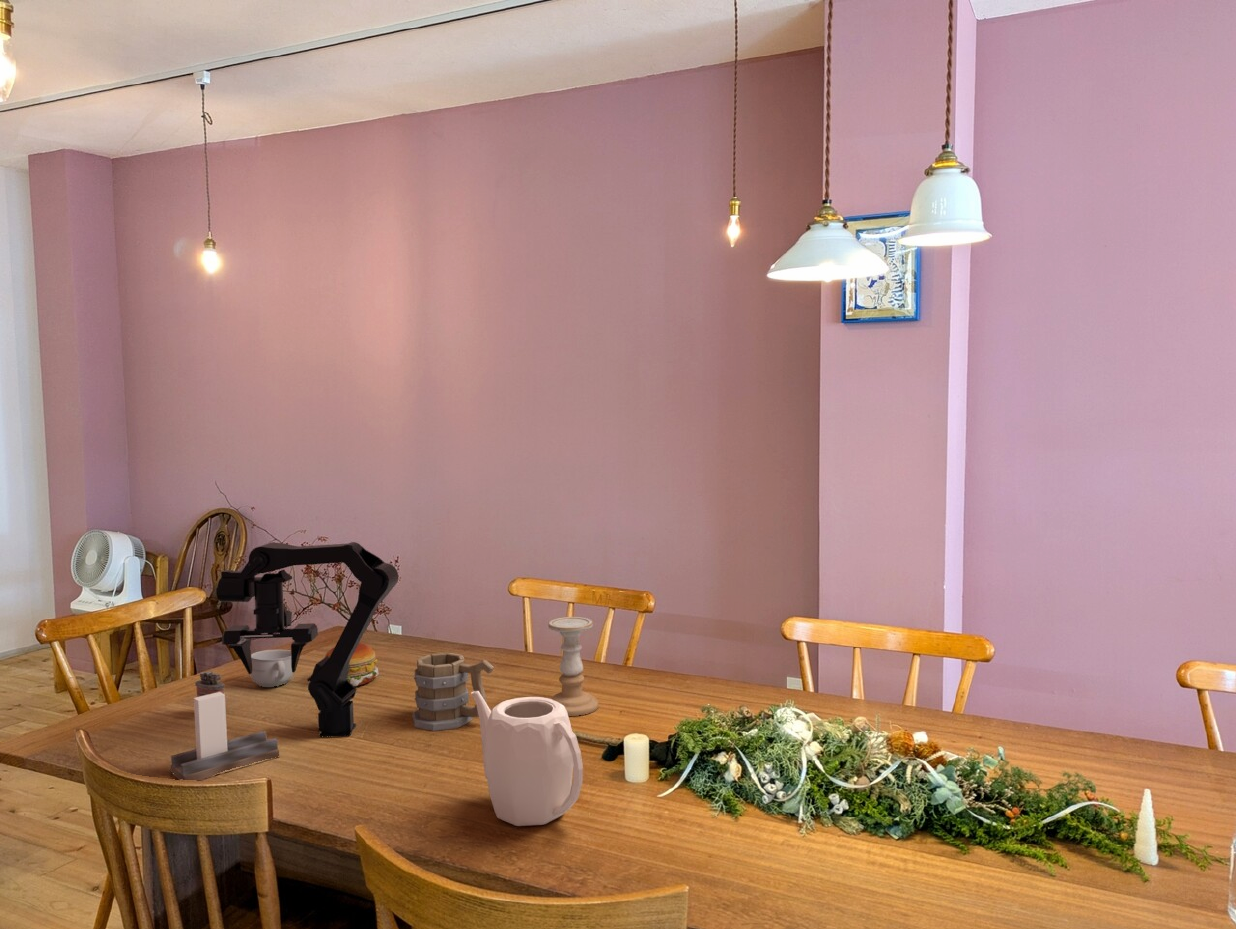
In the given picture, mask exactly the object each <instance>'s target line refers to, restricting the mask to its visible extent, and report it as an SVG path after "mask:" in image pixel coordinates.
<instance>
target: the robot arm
mask: <svg viewBox="0 0 1236 929" xmlns="http://www.w3.org/2000/svg"><path fill="white" fill-rule="evenodd" d="M322 564H327V565H328V564H344V565H345V566H346V567H347V568H348V569H349V571H350V572H351V573H352V575H353V576H354V578H356V579H357V580H358V581H359V582H360V585H359V589H358V598H357V603H356V605H355V606H354V608H353V611H352V613H351V615H350V617H349V618H348V621H347V622H346V625H345V626H344V628H343V630H342V632H341V634H340V636H339V638H338V641H337V642H336V644H335V646H334V647H335V648H334V647H333V648H334V650H333V652H332V654H331V656H330V658H329V657H328V656H326V655H325V656H326V657H325V656H324V658H322V659H321V660H319V661H318V662H317V663H315V665H314V667H313V671H312V674H311V676H310V677H309V678H307V681H308V686H307V691H308V693H309V694H310V696H311V698H313V700H314V702H315V706H316V708H317V709H318V711H319V712H318V714H317V720H318V722H317V723H318V725H317V726H318V732H319V734H318V737H319V736H320V737H319V738H332V737H331V736H341V737H349V735H350V734H352V733H353V731H354V730H355V728H356V727H357V724H356V723H355V719H354V701H353V700H352V699H354V698H355V695H356V693H357V688H356V686H353V685H352V684H351V683H350V682H349V681H348V680H347V676H348V672H349V663H350V660H351V658H352V656H353V654H354V652H355V650H356V648H357V646H358V644H359V643H361V640H362V638H363V636H364V634H365V633H366V632H365V631H366V630H367V628H368V626H369V624H370V623H371V620H372V618H373V616H374V614H375V613H376V610H377V608H378V606H380V604H381V603H382V602H383V601H384V600H385V598H386V597H387V596H388V595H389V594H390V593H391V591H392V590H393V589H394V587H395V586H396V585H397V583H398V580H399V572H398V571H397V569H396V567H395V566H394V565H393V564H390V563H388V562H385V561H384V560H382V558H380V557H379V556H377V555H376V554H374V553H372V552H370V551H369V550H367V549H366V548H364V547H363V546H362V545H361V544H360V543H358V542H355V541H351V542H349V543H339V544H338V543H334V544H333V543H332V544H320V545H319V544H317V545H303V546H300V545H299V546H298V545H292V544H289V543H282V542H275V541H274V542H273V541H272V542H268V543H265V544H263V545H260V546H256V547H254V548H252V550H251V551H250V553H249V555H248V562H246V564H245V565H244V567H243V569H242V570H232V569H225V570H223V571H221V572H220V573H221V574H220V576H221V577H220V578H219V580H218V583H217V587H216V591H215V592H216V597H217V599H218V600H219V601H220V602H222V603H231V602H232V603H249V602H250V601H251V599H252V598H254V609H253V615H255V628H254V629H250V627H249V625H247V624H246V625H245V624H244V625H241V624H240V625H231V626H230V627H228V628H227V629H225V630H224V631H223V633H222V635H221V645H224V646H228V648H229V649H233V651H234V652H235V653H236V655H237V656H238V658H239V659H240V660H241V662H242V664H243V666H244V668H245V670H246V672H247V674H248V675H251V673H252V659H251V654H252V653H251V652H252V651H251V642H252V640H253V639H280V638H291V639H292V641H293V642H292V643H291V644H290V651H291V668H292V672H293V673H294V674H295V672H296V671H297V667H298V664H299V660H300V657H301V654H302V652H303V649H304V647H305V646H307V645H308V644H309V643H311V642H312V641H314V640H315V639H316V637H317V636H318V635H319V633H318V632H319V628H318V625H316V623H311V622H310V623H298V624H297V625H296V626H294V627H293V628H287V627H291V626H292V619H293V618H292V616H293V615H292V614H293V611H291V610H288V609H286V605H285V604H286V603H285V602H284V588H283V587H284V585H283V584H284V583H286V582H289V581H291V580H292V579H293V575H290V573H288V572H287V571H286V568H289V567H290V568H291V567H294V566H306V565H309V566H310V565H322ZM278 570H279V571H278ZM274 571H278V572H277V573H276V572H275V573H274ZM270 572H271V573H270ZM260 574H263V575H262V576H257V575H260ZM322 736H323V737H322ZM327 736H328V737H327ZM329 736H330V737H329ZM350 736H351V735H350Z"/></svg>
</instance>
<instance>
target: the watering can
mask: <svg viewBox="0 0 1236 929" xmlns="http://www.w3.org/2000/svg"><path fill="white" fill-rule="evenodd" d="M470 694H471V696H472V698H473V699H474V702H475V705H476V706H477V711H478V715H479V717H478V718H479V728H480V737H481V738H480V740H481V746H482V747H481V748H482V759H483V769H484V778H485V779H486V781H487V788H488V794H489V797H490V799H491V800H490V801H491V803H492V807H493V810H494V813H495V815H496V818H498V820H499V819H500V820H501V821H504V822H506V823H508V824H510V825H511V824H512V825H513V826H516V827H526V826H542V825H547V824H548V823H550V822H552V821H554V820H556V819H558V818H559V817H562V816H563V815H564V814H565V813H566V812H568V811H569V810H570V809H571V808H572V807H573V806H574V805H575V803H576V802H577V801H578V800H579V797H580V793H581V789H582V787H583V782H584V781H583V779H584V767H583V766H584V765H583V760H582V753H581V752H582V751H581V749H580V747H579V746H580V745H579V740H578V738H577V735H576V734H575V733H574V732H573V730H572V725H571V721H570V716H568V713H567V711H566V709H565V707H564V705H562V704H560V703H559V702H557V701H554V700H552V699H550V698H547V697H542V696H525V697H515V698H512V699H507V700H503V701H501V702H500V703H498V704H497V705H495V706H494V707H492V710H491V708H490V707H489V705H488V704H487V701H486V702H485V700H484V699H483V697H482V696H481V694H480V692H479V691H474V690H473V691H471V692H470Z"/></svg>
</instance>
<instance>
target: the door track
mask: <svg viewBox="0 0 1236 929" xmlns="http://www.w3.org/2000/svg"><path fill="white" fill-rule="evenodd" d="M227 749H228V751H226V752H223V753H219V754H215V755H212V756H208V757H205V758H201V759H197V751H196V748H195V749H191V750H188V751H185V752H180V753H177V754H172V755H170V757H171V760H170V761H171V762H170V763H171V764H170V772H171V771H172V773H174V775H175V776H174V777H175V778H177V779H178V780H179V779H183V780H200V781H202V780H206V779H205V778H207V779H210V778H212V777H211V776H213V775H215V774H217V773H220V772H223V771H225V770H230V769H232V768H236V767H240V766H245V765H249V764H252V763H254V762H258V761H262V760H265V759H271V758H275V757H278V756H279V757H280V750H279V748H278V739H277V738H276V737H274V738H270V739H267V732H266V731H265V730H261V731H258V732H255V733H251V734H246V735H244V736H240V737H239V736H238V737H235V738H231V739H229V740H228V739H227ZM279 757H278V758H279ZM275 759H276V758H275ZM172 773H171V774H172ZM209 777H210V778H209Z"/></svg>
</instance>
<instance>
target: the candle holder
mask: <svg viewBox="0 0 1236 929" xmlns="http://www.w3.org/2000/svg"><path fill="white" fill-rule="evenodd" d="M593 626H594V621H593V620H592V619H590V618H587V617H581V616H567V617H566V616H565V617H559V618H554V619H551V620H549V621H548V624H547V627H548V629H550V630H551V631H554V632H558V633H559V635H560V636H562V639H563V642H562V644H560V646H559V649H560V650H562V656H561V661H560V663H559V671H560V672H561V673H562V674H561V675H560V676H559V677H558V682H560V684H561V691H560V692H557V693H555V694H554V695H553V696H551V697H549V699H552V700H554V701H557V702H559V703H560V704H562V705H564V707H565V709H566V711H567V713H568V717H579V715H581V716H585V714H586V715H588V714H589V715H590V714H591V713H594V712H595V711H597V710H598V708H599V705H600V704H599V701H598V699H597V697H595V696H594V695H591V694H590V693H588V692H586V691H583V687H582V683H583V682H584V681H585V677H584V675H583V674H582V673H581V672H583V670H584V664H583V662H582V657H581V654H580V652H581V651H580V650H582V648H583V646H582V644H581V643H580V642H579V638H580V636H581V635H582V633H583V632H585V631H588V630H590V629H592V628H593Z"/></svg>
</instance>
